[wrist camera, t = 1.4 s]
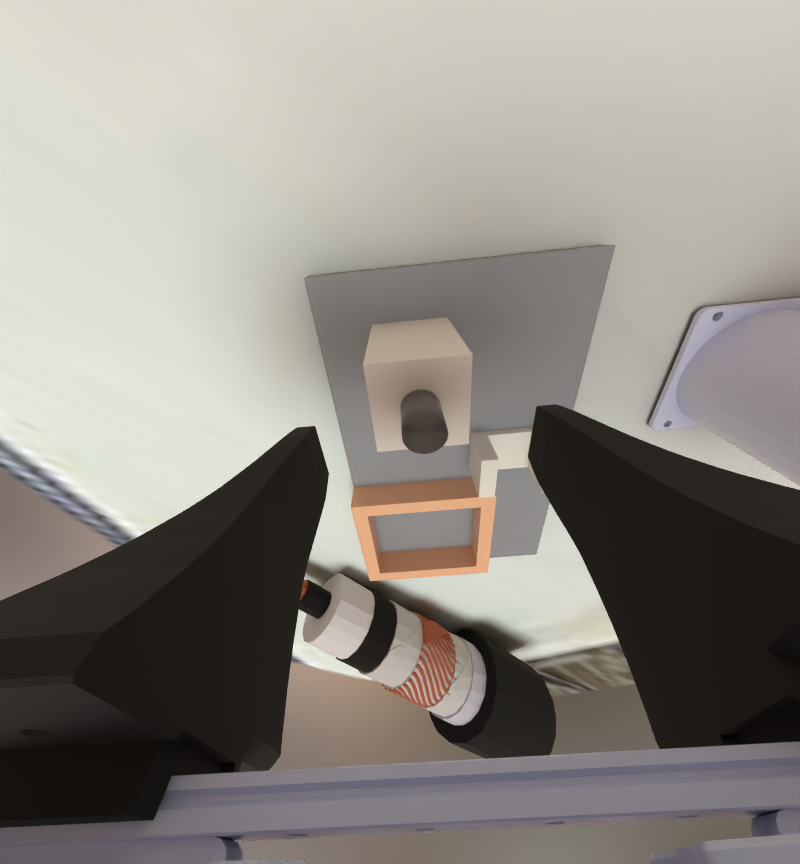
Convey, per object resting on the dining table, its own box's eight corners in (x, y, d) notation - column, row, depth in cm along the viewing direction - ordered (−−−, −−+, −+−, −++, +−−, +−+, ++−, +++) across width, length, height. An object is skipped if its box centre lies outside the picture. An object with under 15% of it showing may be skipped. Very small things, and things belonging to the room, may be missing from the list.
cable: (312, 510, 31) (310, 564, 22) (515, 642, 41) (575, 720, 32) (249, 587, 31) (218, 679, 21) (469, 703, 41) (516, 801, 31)
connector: (447, 317, 16) (487, 375, 9) (447, 386, 18) (480, 474, 11) (372, 324, 16) (357, 387, 9) (381, 392, 18) (375, 483, 11)
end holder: (488, 476, 22) (496, 495, 20) (481, 551, 27) (487, 572, 25) (353, 487, 22) (350, 507, 21) (371, 559, 27) (369, 581, 26)
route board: (602, 245, 15) (615, 245, 14) (531, 544, 28) (536, 554, 27) (309, 275, 16) (304, 278, 15) (373, 556, 29) (372, 566, 28)
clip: (546, 425, 20) (569, 453, 17) (539, 461, 21) (558, 491, 19) (470, 432, 20) (481, 460, 17) (468, 467, 22) (478, 497, 19)
